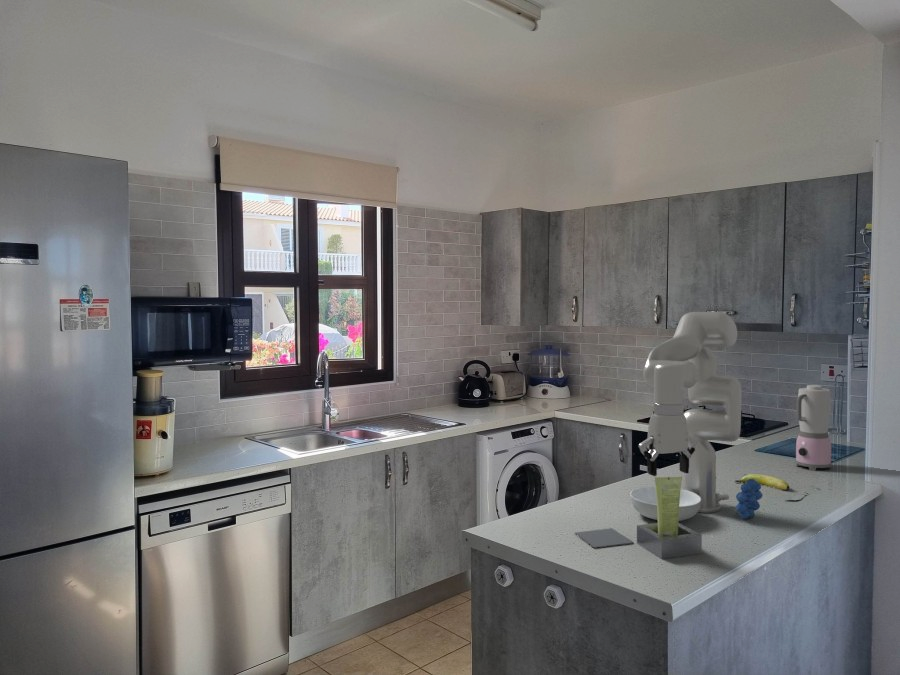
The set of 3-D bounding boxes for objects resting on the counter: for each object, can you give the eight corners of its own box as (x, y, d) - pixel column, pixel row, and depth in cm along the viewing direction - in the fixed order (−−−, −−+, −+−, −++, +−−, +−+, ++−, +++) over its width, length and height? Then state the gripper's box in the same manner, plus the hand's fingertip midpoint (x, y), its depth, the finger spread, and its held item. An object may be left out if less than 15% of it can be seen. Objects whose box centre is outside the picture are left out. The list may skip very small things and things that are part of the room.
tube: (664, 543, 186) (664, 473, 185) (681, 547, 183) (682, 476, 182) (654, 548, 182) (654, 477, 181) (672, 553, 179) (672, 480, 177)
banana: (831, 490, 235) (831, 479, 235) (796, 506, 218) (796, 494, 218) (734, 471, 262) (734, 461, 262) (696, 484, 245) (696, 474, 245)
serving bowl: (654, 532, 195) (654, 508, 195) (617, 510, 215) (617, 489, 215) (716, 524, 201) (716, 501, 200) (674, 504, 221) (674, 483, 220)
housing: (674, 538, 190) (674, 520, 189) (701, 553, 178) (701, 535, 178) (636, 543, 186) (636, 525, 186) (661, 559, 175) (661, 540, 174)
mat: (611, 529, 198) (611, 528, 198) (633, 543, 186) (633, 542, 186) (574, 534, 194) (574, 532, 194) (594, 548, 183) (594, 547, 183)
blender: (810, 461, 273) (811, 383, 271) (838, 468, 262) (839, 386, 260) (782, 466, 266) (783, 385, 264) (810, 473, 255) (812, 389, 253)
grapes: (746, 510, 213) (746, 473, 212) (767, 516, 207) (767, 477, 206) (725, 518, 206) (725, 479, 205) (745, 524, 200) (746, 484, 200)
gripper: (688, 406, 186) (687, 468, 187) (632, 409, 181) (632, 472, 182) (705, 410, 179) (705, 474, 179) (647, 413, 174) (647, 479, 175)
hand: (668, 473), depth 181 cm, fingers open, 9 cm apart
